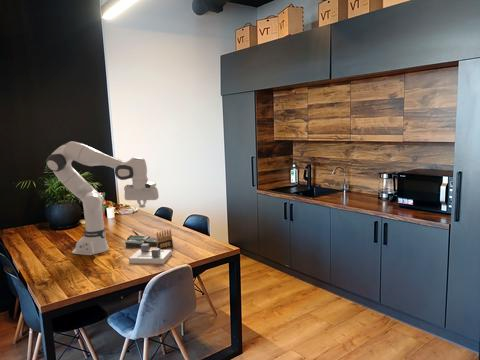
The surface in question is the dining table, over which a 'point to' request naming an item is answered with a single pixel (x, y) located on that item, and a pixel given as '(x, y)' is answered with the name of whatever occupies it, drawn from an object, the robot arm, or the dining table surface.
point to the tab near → (155, 252)
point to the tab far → (145, 248)
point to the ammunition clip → (164, 240)
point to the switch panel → (150, 257)
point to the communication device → (140, 240)
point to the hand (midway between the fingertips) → (142, 207)
